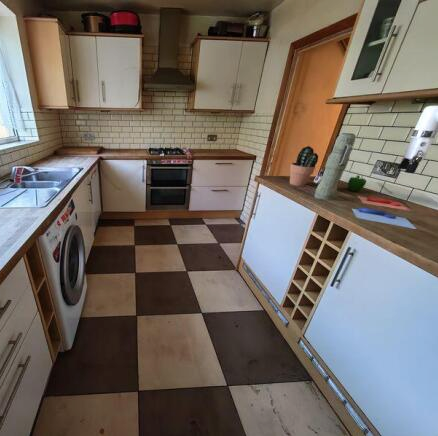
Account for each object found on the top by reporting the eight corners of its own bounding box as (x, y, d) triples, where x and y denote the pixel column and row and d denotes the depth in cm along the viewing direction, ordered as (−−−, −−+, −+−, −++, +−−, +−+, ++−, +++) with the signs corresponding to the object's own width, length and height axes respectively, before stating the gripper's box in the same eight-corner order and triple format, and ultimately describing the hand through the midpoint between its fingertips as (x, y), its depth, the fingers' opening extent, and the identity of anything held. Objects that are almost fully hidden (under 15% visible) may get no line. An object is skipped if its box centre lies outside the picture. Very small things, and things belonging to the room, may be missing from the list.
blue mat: (405, 219, 106) (405, 218, 106) (416, 230, 96) (417, 229, 96) (351, 209, 116) (351, 208, 115) (356, 218, 105) (356, 217, 105)
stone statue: (321, 201, 125) (347, 134, 110) (309, 194, 135) (331, 132, 120) (338, 202, 124) (366, 134, 109) (324, 195, 135) (348, 132, 120)
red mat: (404, 204, 125) (404, 203, 124) (413, 212, 115) (413, 211, 114) (357, 196, 134) (357, 196, 134) (362, 203, 124) (362, 202, 123)
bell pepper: (353, 188, 149) (360, 173, 145) (364, 192, 141) (372, 177, 137) (341, 188, 149) (347, 173, 144) (352, 192, 141) (359, 176, 137)
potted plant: (284, 184, 153) (295, 146, 142) (286, 180, 163) (297, 144, 152) (308, 188, 146) (322, 148, 135) (309, 183, 156) (322, 146, 145)
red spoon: (398, 204, 123) (400, 200, 122) (401, 207, 119) (403, 203, 118) (365, 199, 129) (367, 195, 128) (367, 201, 126) (369, 197, 125)
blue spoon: (393, 216, 108) (395, 212, 107) (396, 219, 104) (399, 215, 103) (356, 209, 114) (358, 205, 113) (358, 212, 111) (360, 208, 110)
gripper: (444, 136, 98) (423, 175, 105) (426, 134, 112) (409, 168, 119) (419, 135, 102) (401, 173, 109) (405, 133, 115) (390, 166, 122)
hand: (405, 170), depth 114 cm, fingers open, 9 cm apart
